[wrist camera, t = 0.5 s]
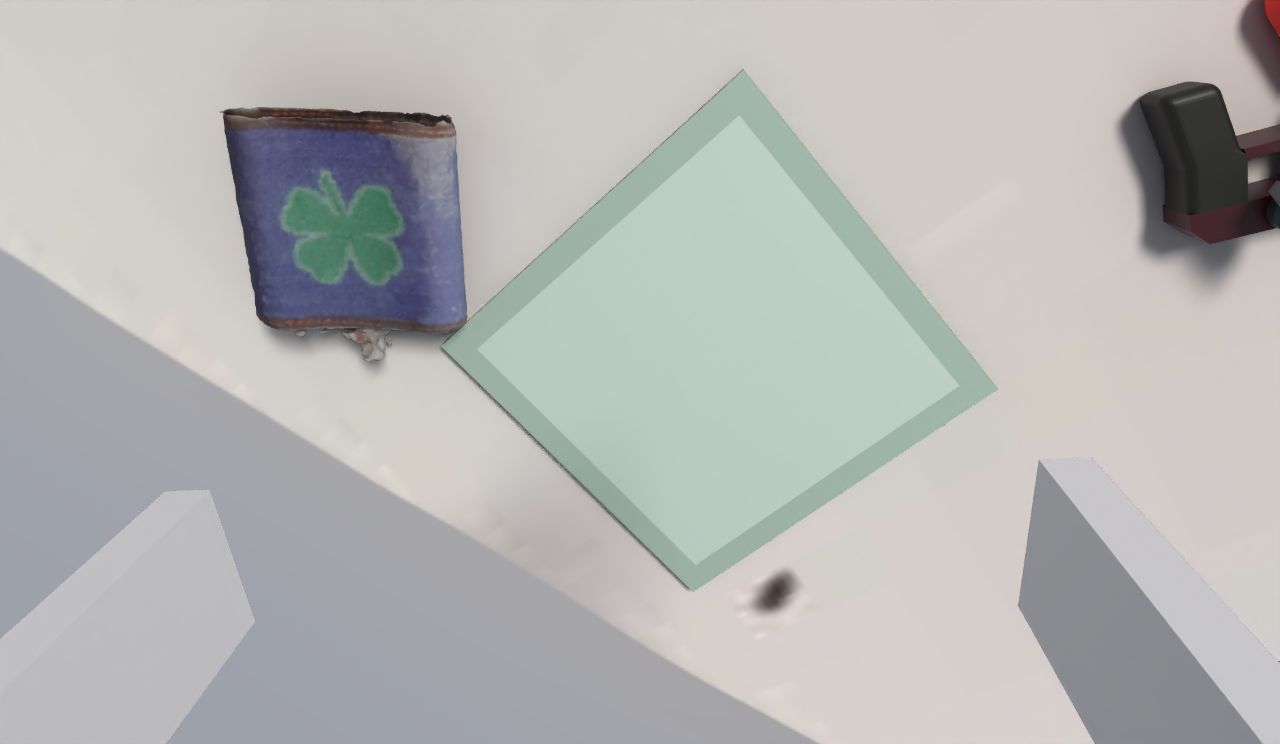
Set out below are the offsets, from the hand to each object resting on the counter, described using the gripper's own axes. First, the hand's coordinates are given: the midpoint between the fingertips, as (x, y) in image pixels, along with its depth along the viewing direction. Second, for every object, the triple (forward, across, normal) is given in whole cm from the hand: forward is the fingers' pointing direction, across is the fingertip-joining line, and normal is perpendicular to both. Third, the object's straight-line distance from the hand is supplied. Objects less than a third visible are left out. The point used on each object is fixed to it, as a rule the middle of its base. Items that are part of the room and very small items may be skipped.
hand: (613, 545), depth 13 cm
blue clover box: (+25, -13, +5) cm, 28 cm away
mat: (+23, +2, -7) cm, 24 cm away
